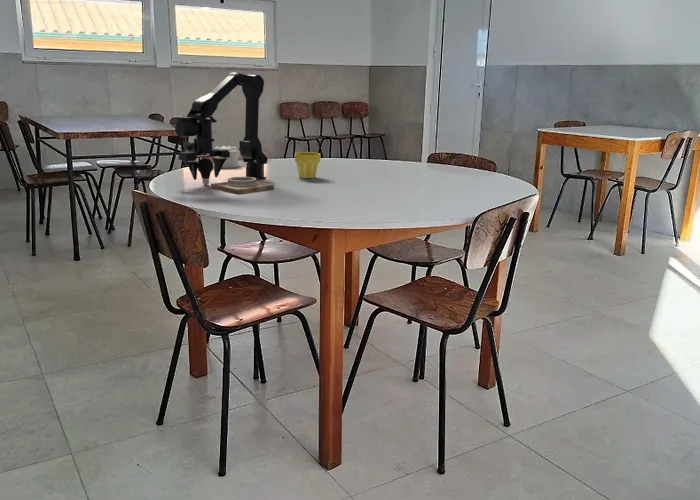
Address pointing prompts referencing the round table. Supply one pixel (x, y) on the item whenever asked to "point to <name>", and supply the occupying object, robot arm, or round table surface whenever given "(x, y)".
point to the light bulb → (205, 169)
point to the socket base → (241, 189)
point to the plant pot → (307, 164)
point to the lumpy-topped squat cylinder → (233, 159)
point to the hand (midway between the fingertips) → (205, 178)
